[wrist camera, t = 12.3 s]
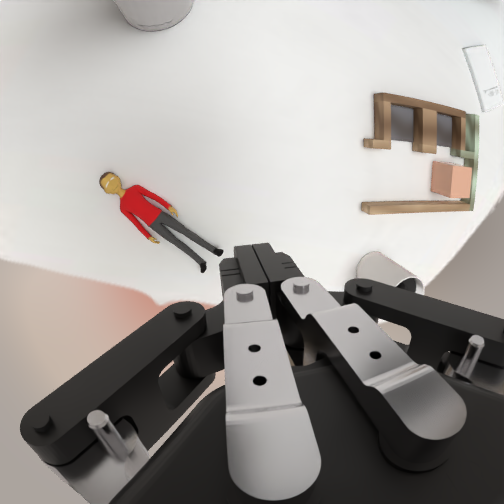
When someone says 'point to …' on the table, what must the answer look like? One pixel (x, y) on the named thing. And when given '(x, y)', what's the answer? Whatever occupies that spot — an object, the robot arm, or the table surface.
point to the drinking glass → (388, 273)
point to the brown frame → (424, 144)
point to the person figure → (153, 216)
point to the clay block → (451, 179)
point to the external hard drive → (484, 77)
